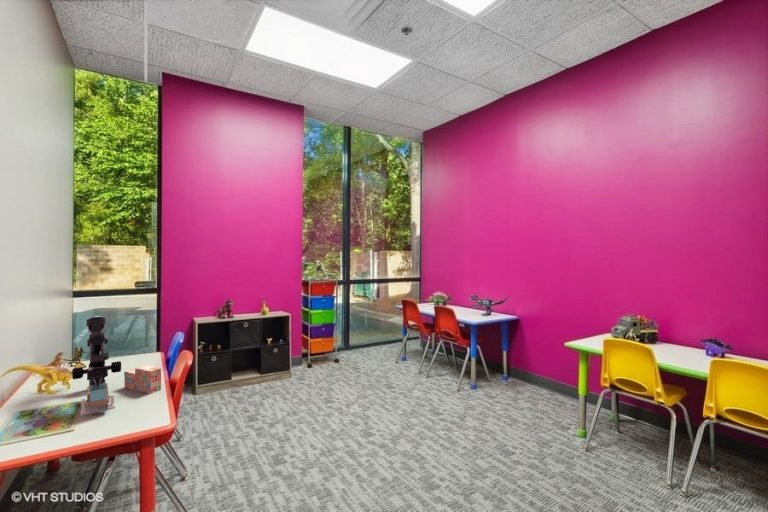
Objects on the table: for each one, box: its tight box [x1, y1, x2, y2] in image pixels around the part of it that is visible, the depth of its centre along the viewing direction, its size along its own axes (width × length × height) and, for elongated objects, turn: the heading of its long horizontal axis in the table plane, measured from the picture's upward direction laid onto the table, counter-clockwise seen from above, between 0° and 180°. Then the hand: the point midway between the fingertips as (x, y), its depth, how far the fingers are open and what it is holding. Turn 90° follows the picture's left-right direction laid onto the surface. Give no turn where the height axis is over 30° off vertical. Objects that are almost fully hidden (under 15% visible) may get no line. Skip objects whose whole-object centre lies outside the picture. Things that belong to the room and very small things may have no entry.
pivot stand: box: [80, 393, 116, 416], centre depth 176 cm, size 5×13×6 cm, turn 129°
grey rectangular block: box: [90, 382, 107, 402], centre depth 173 cm, size 5×6×9 cm
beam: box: [85, 382, 111, 415], centre depth 179 cm, size 25×9×5 cm, turn 39°
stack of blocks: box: [123, 364, 162, 395], centre depth 202 cm, size 21×6×12 cm, turn 67°
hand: (97, 385), depth 174 cm, fingers closed
